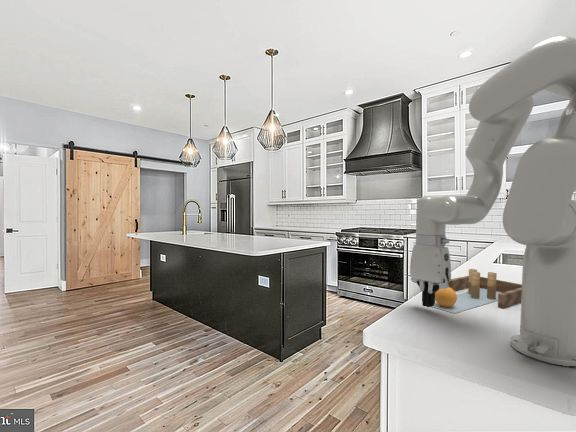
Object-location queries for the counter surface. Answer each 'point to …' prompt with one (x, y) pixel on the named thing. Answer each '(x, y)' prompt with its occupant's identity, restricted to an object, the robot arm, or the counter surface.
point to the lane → (467, 302)
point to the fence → (508, 289)
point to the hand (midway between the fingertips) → (428, 305)
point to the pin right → (491, 285)
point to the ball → (446, 297)
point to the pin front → (475, 285)
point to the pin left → (470, 279)
